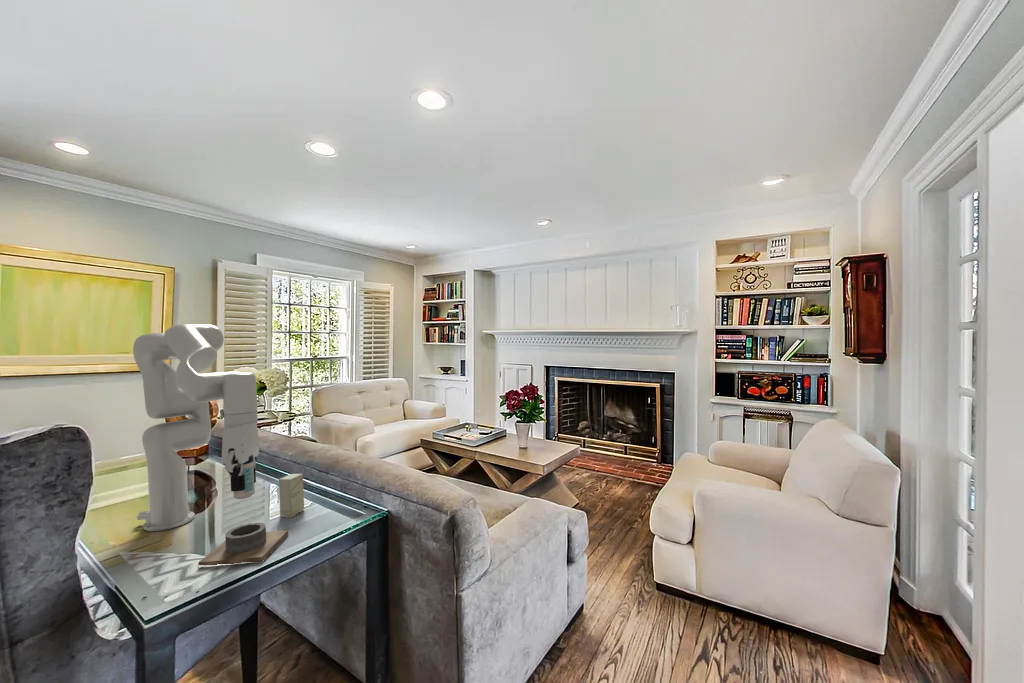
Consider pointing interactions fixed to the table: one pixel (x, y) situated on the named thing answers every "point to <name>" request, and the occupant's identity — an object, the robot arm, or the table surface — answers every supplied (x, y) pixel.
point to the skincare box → (291, 495)
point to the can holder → (245, 545)
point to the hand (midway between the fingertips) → (243, 486)
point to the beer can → (247, 479)
